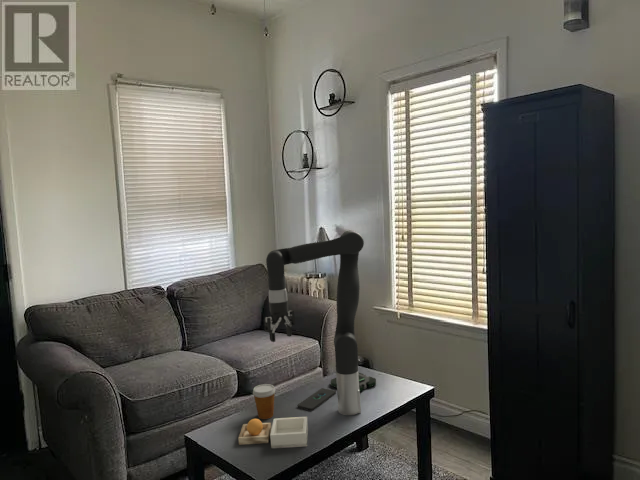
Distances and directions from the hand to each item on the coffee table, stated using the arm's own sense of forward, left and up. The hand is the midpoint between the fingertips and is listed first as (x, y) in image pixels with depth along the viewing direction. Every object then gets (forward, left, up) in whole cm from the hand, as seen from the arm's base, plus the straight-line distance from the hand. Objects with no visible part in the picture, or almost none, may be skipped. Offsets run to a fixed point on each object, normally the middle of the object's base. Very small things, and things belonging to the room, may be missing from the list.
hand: (281, 338), depth 197 cm
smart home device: (-12, -14, -34) cm, 39 cm away
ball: (+11, +15, -29) cm, 35 cm away
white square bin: (-2, +18, -33) cm, 38 cm away
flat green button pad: (-29, -29, -34) cm, 53 cm away
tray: (+11, +15, -33) cm, 38 cm away
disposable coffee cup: (+9, -2, -33) cm, 35 cm away
